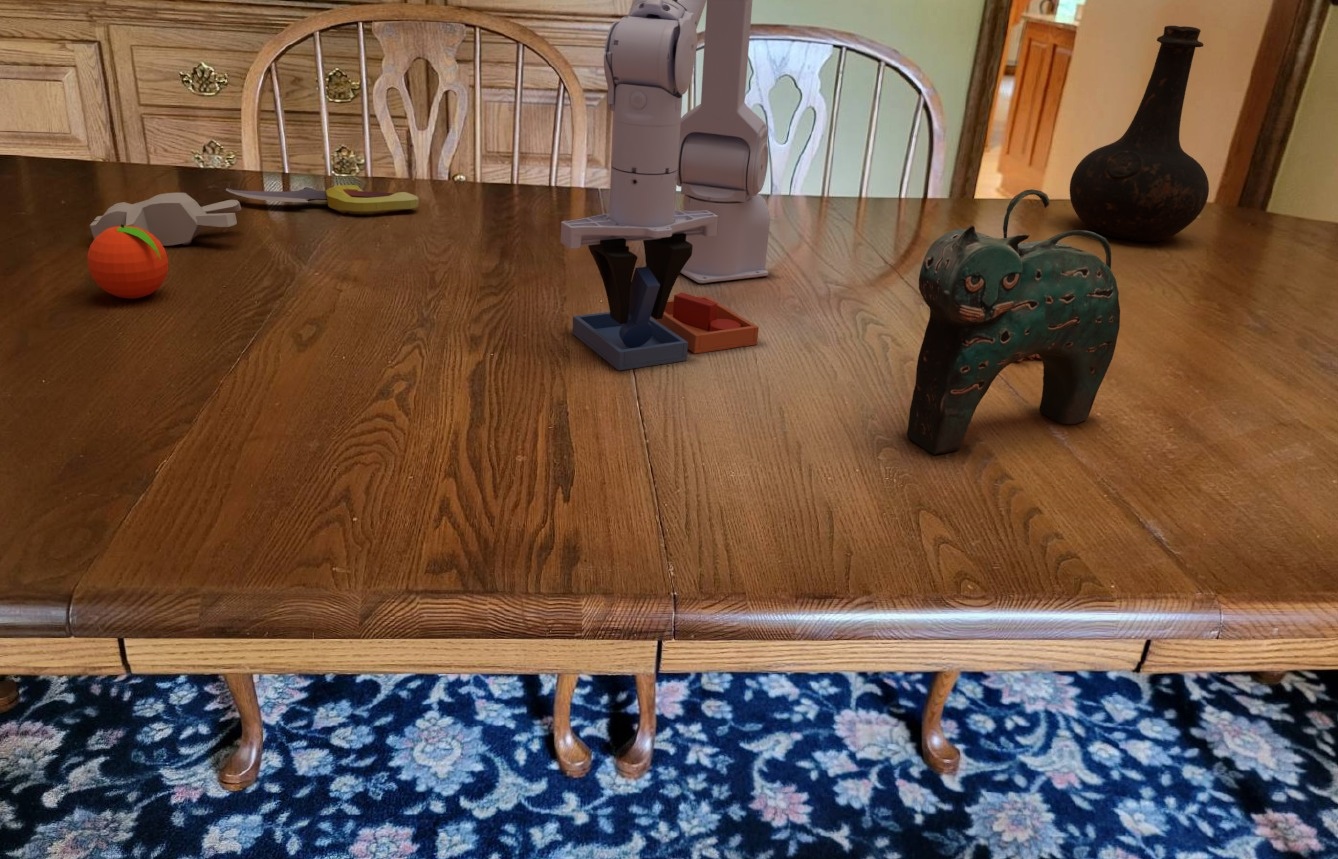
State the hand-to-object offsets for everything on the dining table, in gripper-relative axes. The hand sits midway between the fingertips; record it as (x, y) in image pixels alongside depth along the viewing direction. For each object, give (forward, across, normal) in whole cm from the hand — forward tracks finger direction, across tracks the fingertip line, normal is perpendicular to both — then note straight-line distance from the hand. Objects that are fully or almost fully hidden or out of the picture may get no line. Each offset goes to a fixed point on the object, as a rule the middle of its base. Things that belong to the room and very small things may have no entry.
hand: (636, 317), depth 96 cm
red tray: (+3, +8, +2) cm, 9 cm away
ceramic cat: (+3, +20, -26) cm, 33 cm away
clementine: (+3, -39, +29) cm, 49 cm away
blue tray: (+3, 0, +1) cm, 4 cm away
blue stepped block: (-1, 0, -2) cm, 2 cm away
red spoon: (+3, +9, +2) cm, 10 cm away
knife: (+3, -15, +59) cm, 61 cm away
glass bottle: (+3, +88, +16) cm, 90 cm away
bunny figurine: (+3, -34, +48) cm, 59 cm away
